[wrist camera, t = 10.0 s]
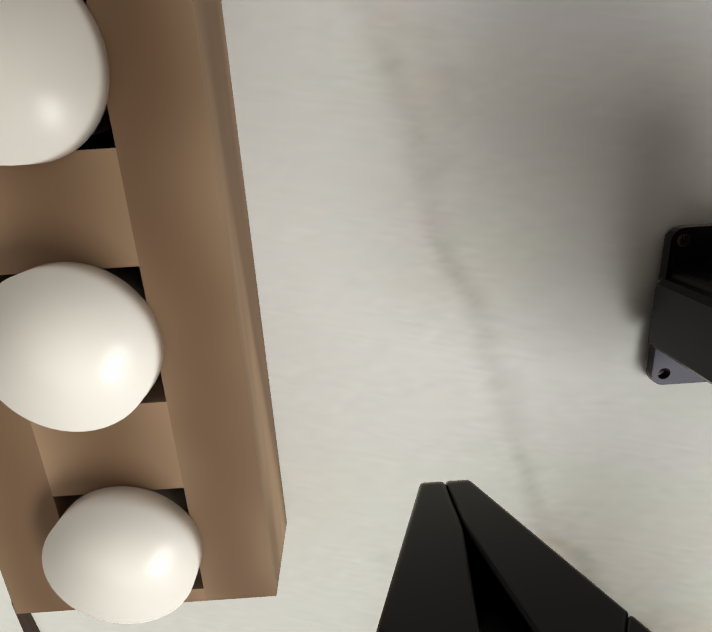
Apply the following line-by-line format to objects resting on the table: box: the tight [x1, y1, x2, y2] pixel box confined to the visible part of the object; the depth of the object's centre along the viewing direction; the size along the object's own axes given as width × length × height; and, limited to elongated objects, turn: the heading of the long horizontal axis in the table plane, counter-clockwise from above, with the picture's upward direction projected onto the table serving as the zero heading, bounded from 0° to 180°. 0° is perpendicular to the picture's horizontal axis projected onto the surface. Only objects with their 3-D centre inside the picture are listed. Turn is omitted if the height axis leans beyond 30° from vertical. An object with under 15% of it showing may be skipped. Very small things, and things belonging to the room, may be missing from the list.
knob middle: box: [0, 262, 164, 432], centre depth 17 cm, size 5×5×4 cm
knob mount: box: [0, 0, 287, 614], centre depth 18 cm, size 10×22×4 cm, turn 3°
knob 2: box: [42, 486, 203, 624], centre depth 20 cm, size 5×5×4 cm
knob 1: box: [0, 0, 111, 166], centre depth 15 cm, size 5×5×4 cm
